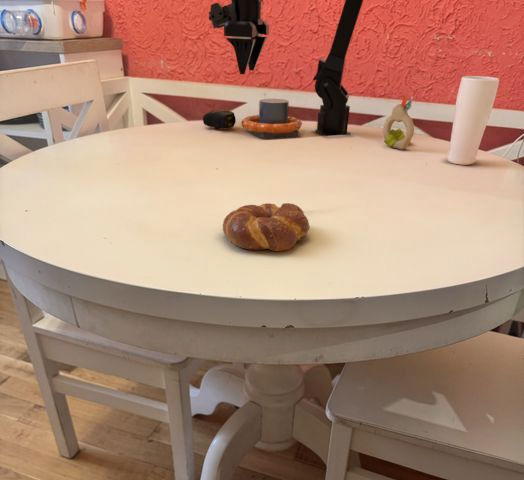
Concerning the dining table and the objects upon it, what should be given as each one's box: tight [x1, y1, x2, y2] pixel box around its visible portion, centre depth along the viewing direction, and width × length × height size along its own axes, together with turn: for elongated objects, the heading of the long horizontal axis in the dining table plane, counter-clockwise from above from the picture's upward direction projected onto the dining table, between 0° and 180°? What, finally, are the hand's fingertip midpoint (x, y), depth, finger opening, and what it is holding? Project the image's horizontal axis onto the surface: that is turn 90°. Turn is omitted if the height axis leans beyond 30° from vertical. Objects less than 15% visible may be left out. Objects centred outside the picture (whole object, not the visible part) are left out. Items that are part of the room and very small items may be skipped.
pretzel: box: [222, 202, 311, 252], centre depth 64 cm, size 12×11×4 cm
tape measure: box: [202, 109, 237, 131], centre depth 122 cm, size 7×7×4 cm
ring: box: [240, 114, 303, 133], centre depth 118 cm, size 14×14×2 cm
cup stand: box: [248, 98, 300, 140], centre depth 117 cm, size 9×9×7 cm
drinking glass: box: [446, 75, 500, 166], centre depth 96 cm, size 7×7×15 cm
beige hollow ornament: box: [382, 90, 415, 151], centre depth 107 cm, size 8×8×12 cm
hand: (247, 72), depth 117 cm, fingers open, 9 cm apart
